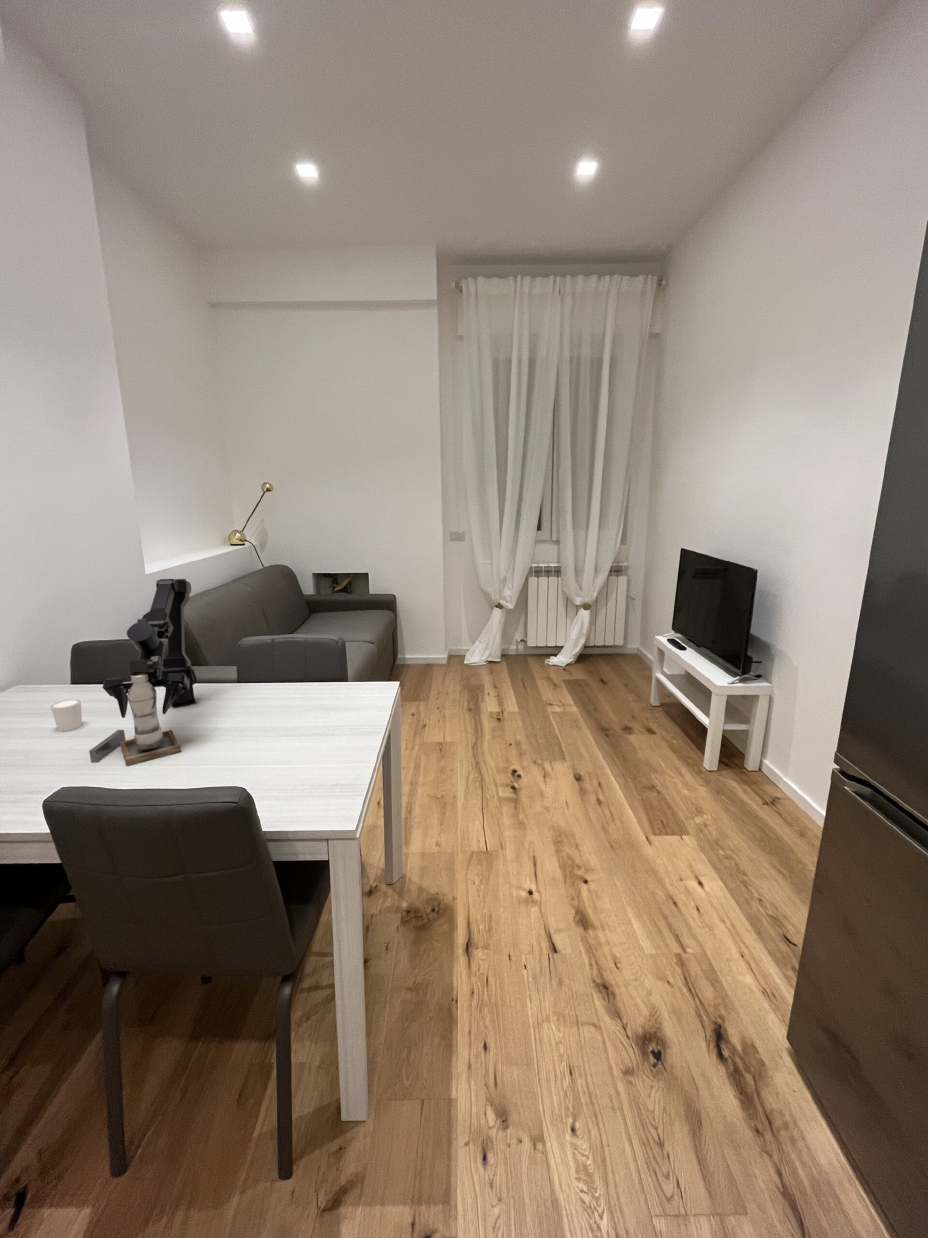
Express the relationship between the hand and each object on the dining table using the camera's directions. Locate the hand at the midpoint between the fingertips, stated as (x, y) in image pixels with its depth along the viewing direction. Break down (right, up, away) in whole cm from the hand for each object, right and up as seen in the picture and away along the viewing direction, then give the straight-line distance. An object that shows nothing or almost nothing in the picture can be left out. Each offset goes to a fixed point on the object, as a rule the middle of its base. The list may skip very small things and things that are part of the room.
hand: (143, 715), depth 136 cm
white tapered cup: (-31, -7, +18) cm, 36 cm away
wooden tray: (0, -10, +4) cm, 10 cm away
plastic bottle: (0, -9, +4) cm, 10 cm away
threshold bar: (-11, -10, +3) cm, 15 cm away
